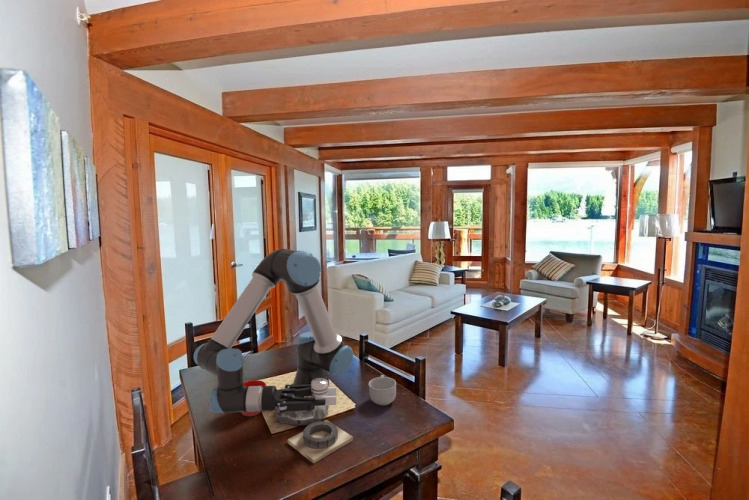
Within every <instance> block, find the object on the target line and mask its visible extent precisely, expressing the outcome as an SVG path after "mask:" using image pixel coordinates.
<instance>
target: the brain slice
mask: <svg viewBox="0 0 749 500" xmlns="http://www.w3.org/2000/svg"><path fill="white" fill-rule="evenodd" d="M307 398H311V396H307ZM273 417H274V418H275V420H277V421H279V422H280V423H282V422H283V423H284V424H287V423H288V425H293V426H299V425H300V426H308V425H310V424H312V423H315V422H320V421H322V422H323V421H324V419H325V418H326V417H324V418H320V419H318V418H314V417H312V410H311V411H286V412H280V408H279V407H275V409H274V411H273ZM283 423H282V424H283Z"/></svg>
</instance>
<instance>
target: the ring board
mask: <svg viewBox="0 0 749 500" xmlns="http://www.w3.org/2000/svg"><path fill="white" fill-rule="evenodd" d="M352 441H354V436H352V435H351V434H349V433H348V432H347V431H344V430H343V429H342V428H340V427H339V426H337V425H335V423H332V422H330V421H329V420H327V419H326V420H322V421H320V422H315V423H312V424H308V425H305V428H304V429H303V431H301V432H299V433H298V434H296V435H294V436H292V437H289V438H288V439H287V444H288V445H289V446H291V447H292V448H293V449H295V450H296V451H297V452H298V453H300V454H301V455H302V456H303V457H304V458H306V459H307V460H308V461H309V462H311V463H312V464H316V463H318V462H319V461H321V460H322V459H324V458H325V457H327V456H329V455H330V454H332V453H334V452H336V451H337V450H339V449H341V448H343V447H344V446H346V445H348V444H350V443H351V442H352Z"/></svg>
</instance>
